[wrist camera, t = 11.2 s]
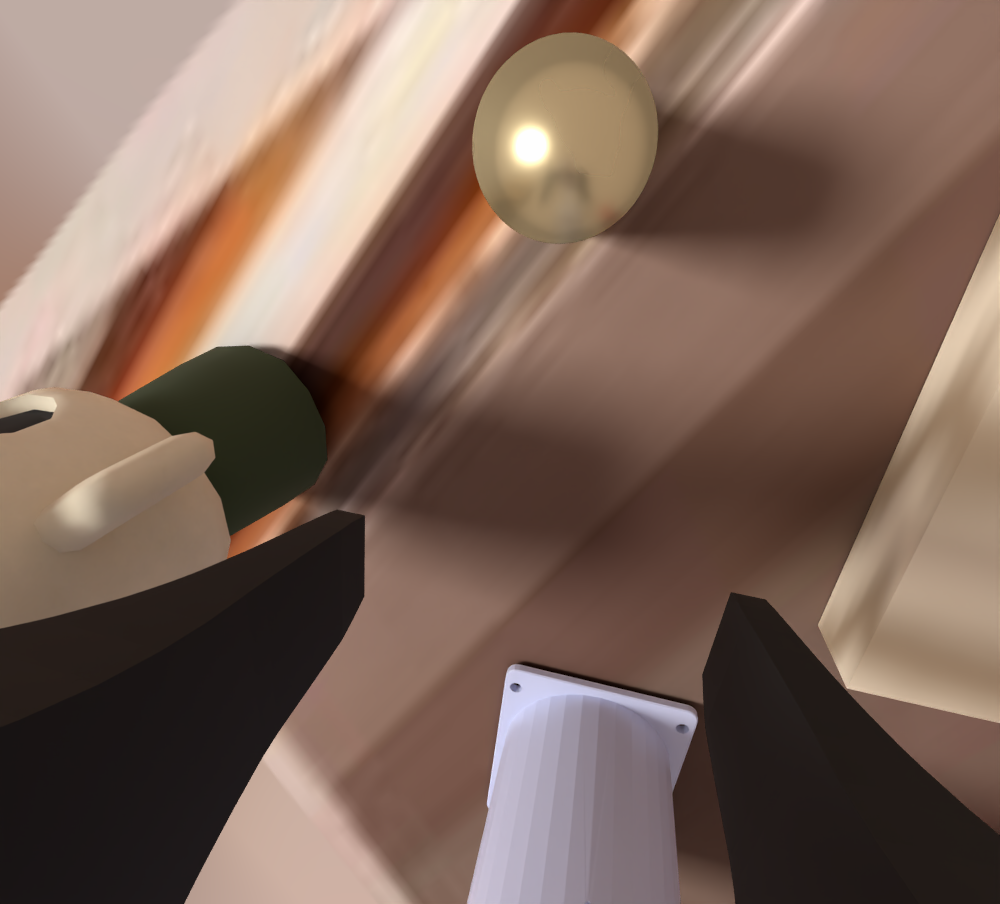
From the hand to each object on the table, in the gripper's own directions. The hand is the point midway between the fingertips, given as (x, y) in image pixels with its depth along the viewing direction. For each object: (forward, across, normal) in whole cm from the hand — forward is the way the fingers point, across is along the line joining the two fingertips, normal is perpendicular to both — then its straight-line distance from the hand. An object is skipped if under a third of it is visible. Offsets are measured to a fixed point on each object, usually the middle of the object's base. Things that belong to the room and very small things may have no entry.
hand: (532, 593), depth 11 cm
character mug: (+10, +12, +2) cm, 15 cm away
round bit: (+9, +1, -8) cm, 12 cm away
